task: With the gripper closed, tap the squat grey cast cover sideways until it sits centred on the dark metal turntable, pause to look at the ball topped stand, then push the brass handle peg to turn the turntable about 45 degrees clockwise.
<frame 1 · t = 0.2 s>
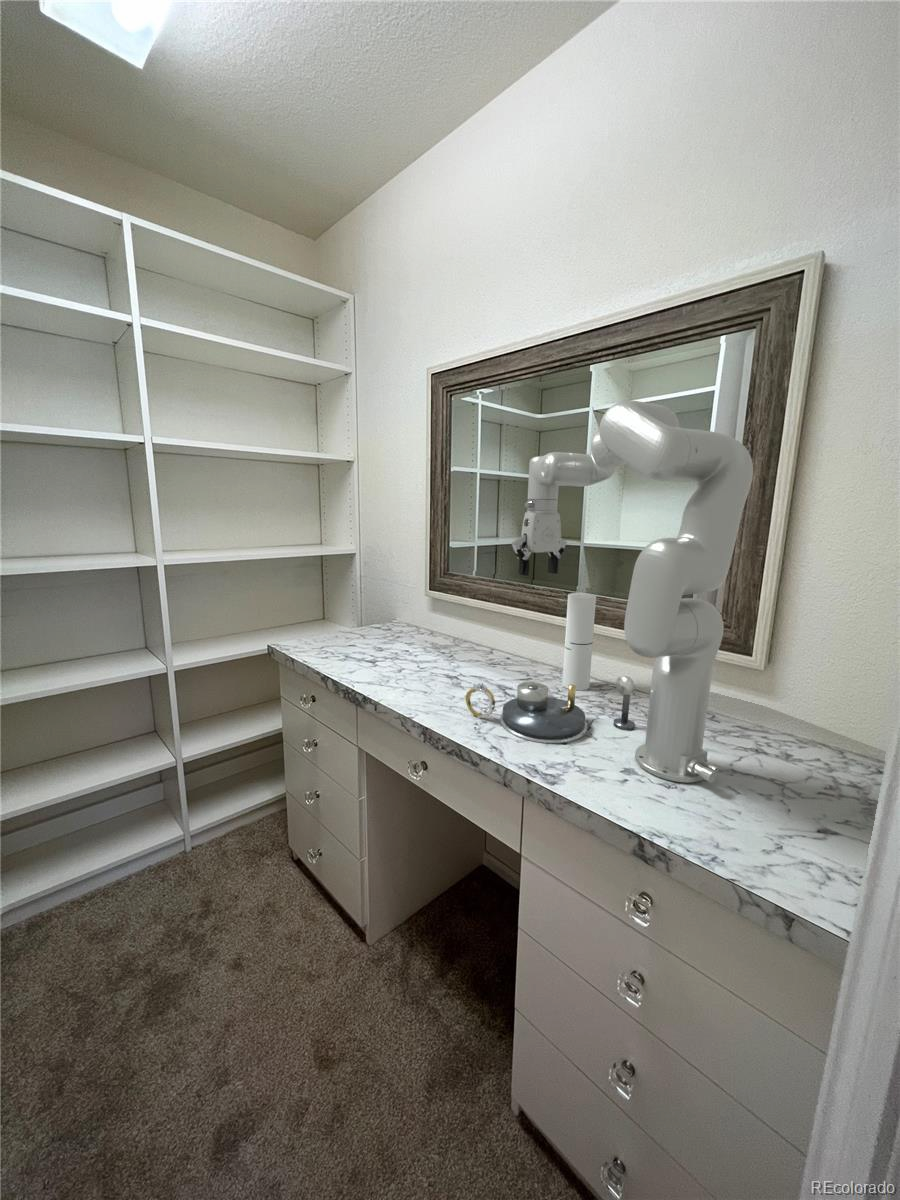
hand: (538, 574, 122), 30 cm above the worktop, tool pointing down, fingers open, 9 cm apart
cover: (532, 704, 108), point 3 cm above the worktop, touching turntable
ball topped stand: (623, 725, 104), on the worktop
bracelet: (479, 718, 107), on the worktop
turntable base: (542, 722, 105), on the worktop
cylindrical container: (575, 686, 128), on the worktop
turntable: (543, 705, 104), point 4 cm above the worktop, hinge at 0.0°, touching cover
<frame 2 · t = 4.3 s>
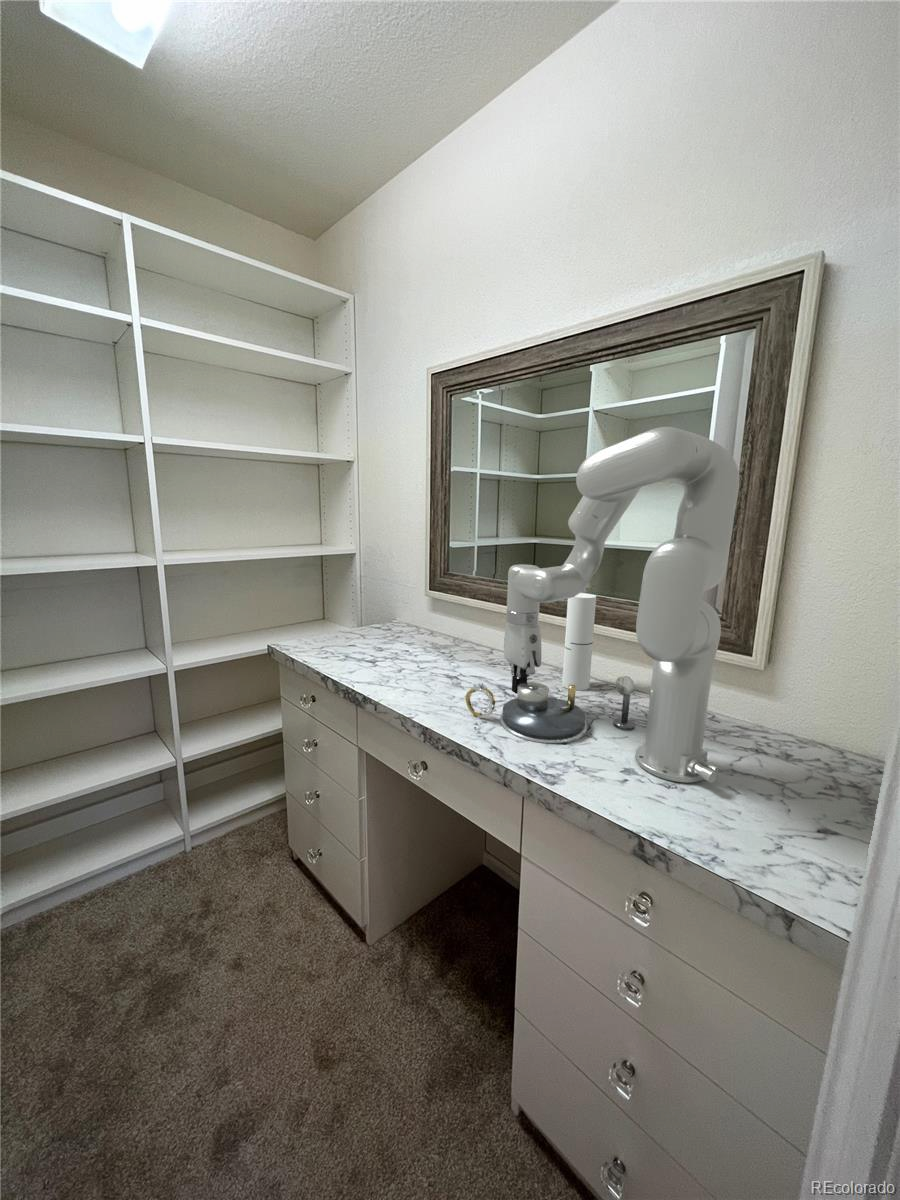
hand: (519, 691, 113), 4 cm above the worktop, tool pointing down, fingers closed
cover: (532, 704, 108), point 3 cm above the worktop, touching gripper
turntable: (543, 705, 104), point 4 cm above the worktop, hinge at 0.0°
everything else where it was.
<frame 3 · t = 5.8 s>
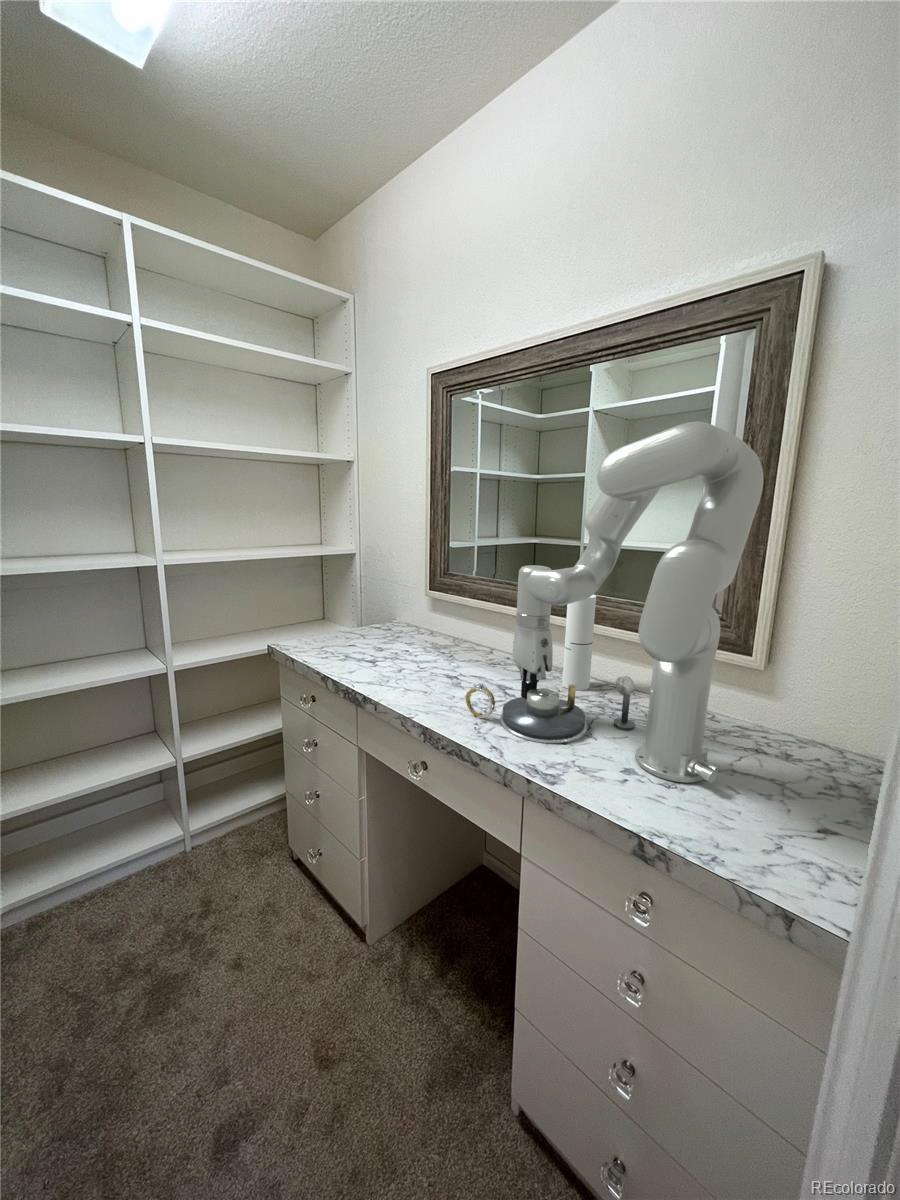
hand: (528, 697, 109), 4 cm above the worktop, tool pointing down, fingers closed
cover: (542, 711, 104), point 3 cm above the worktop, touching gripper, turntable
turntable: (543, 705, 104), point 4 cm above the worktop, hinge at 0.0°, touching cover
everything else where it was.
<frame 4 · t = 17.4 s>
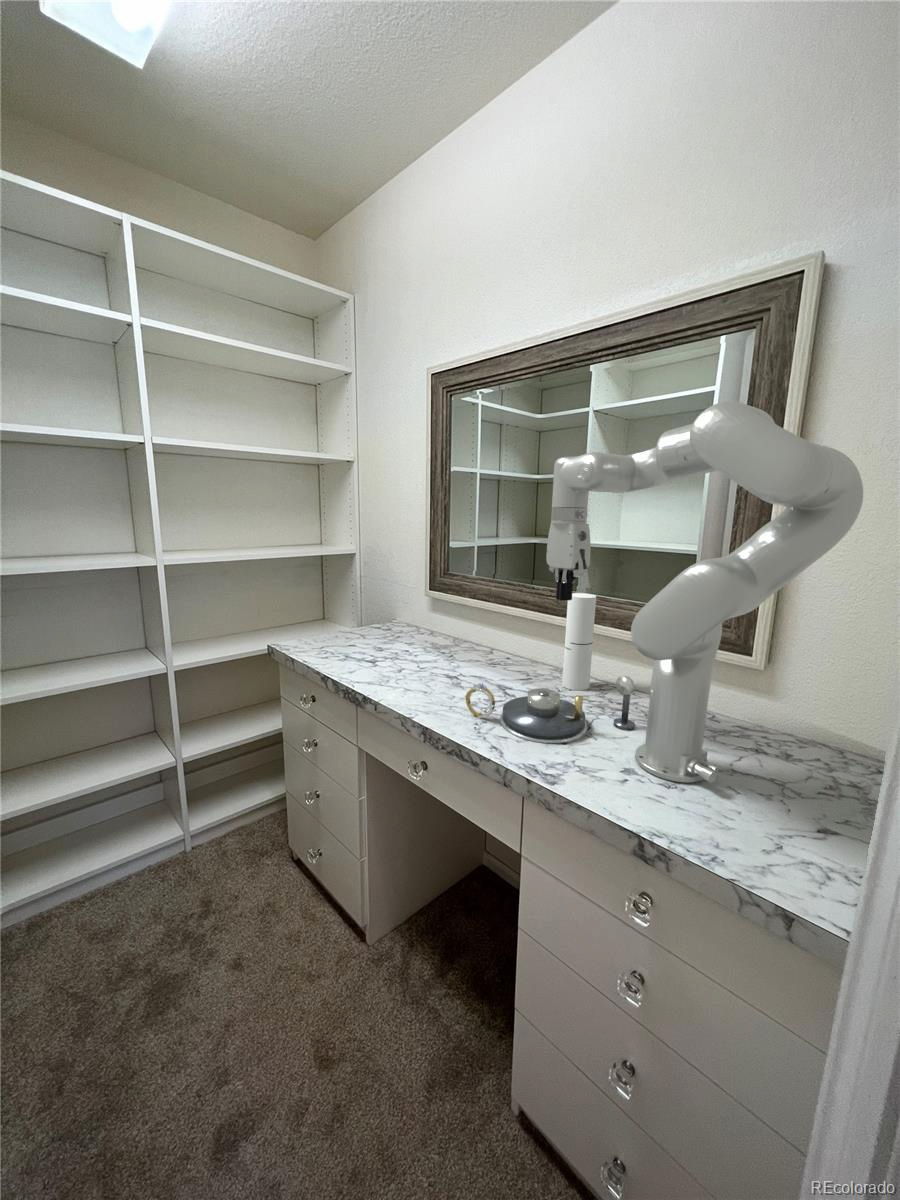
hand: (563, 599, 105), 27 cm above the worktop, tool pointing down, fingers closed
cover: (542, 711, 104), point 3 cm above the worktop, touching turntable
turntable: (543, 705, 104), point 4 cm above the worktop, hinge at 51.4°, touching cover
everything else where it was.
at the end: cover 0.2 cm from the turntable (horizontally); turntable at +51° (first picture: +0°); cover tilted 0° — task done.
